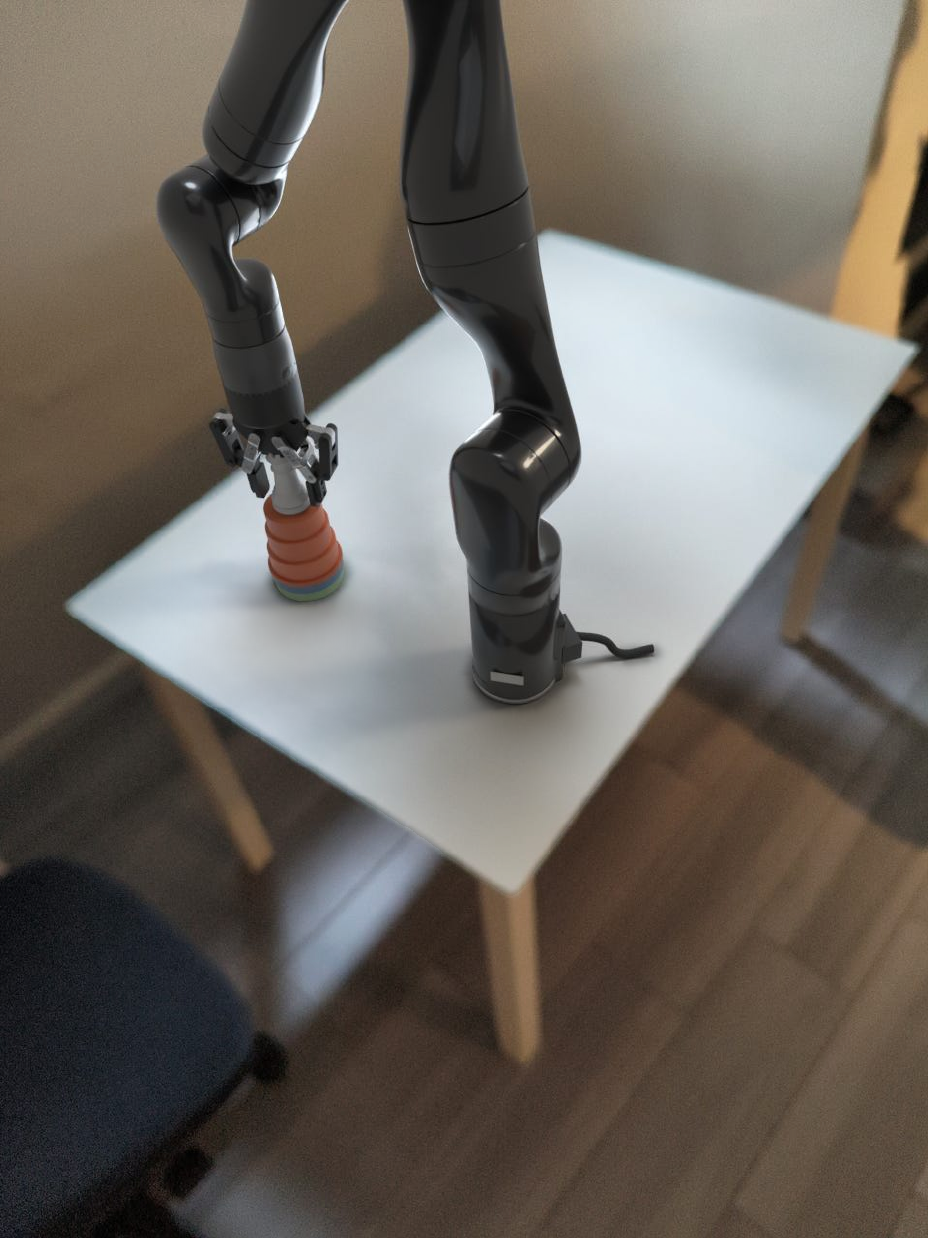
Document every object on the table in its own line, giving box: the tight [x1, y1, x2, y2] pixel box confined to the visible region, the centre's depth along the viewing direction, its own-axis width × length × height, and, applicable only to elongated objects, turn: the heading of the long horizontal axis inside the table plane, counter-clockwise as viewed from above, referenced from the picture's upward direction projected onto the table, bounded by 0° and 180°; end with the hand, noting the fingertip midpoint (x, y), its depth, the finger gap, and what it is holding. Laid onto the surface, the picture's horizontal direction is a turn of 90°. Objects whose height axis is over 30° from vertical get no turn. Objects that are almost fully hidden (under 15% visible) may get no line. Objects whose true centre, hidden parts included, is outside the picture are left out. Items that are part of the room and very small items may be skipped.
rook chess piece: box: [265, 453, 310, 515], centre depth 101 cm, size 4×4×8 cm
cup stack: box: [262, 493, 345, 602], centre depth 108 cm, size 9×9×12 cm
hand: (290, 497), depth 103 cm, fingers open, 6 cm apart
